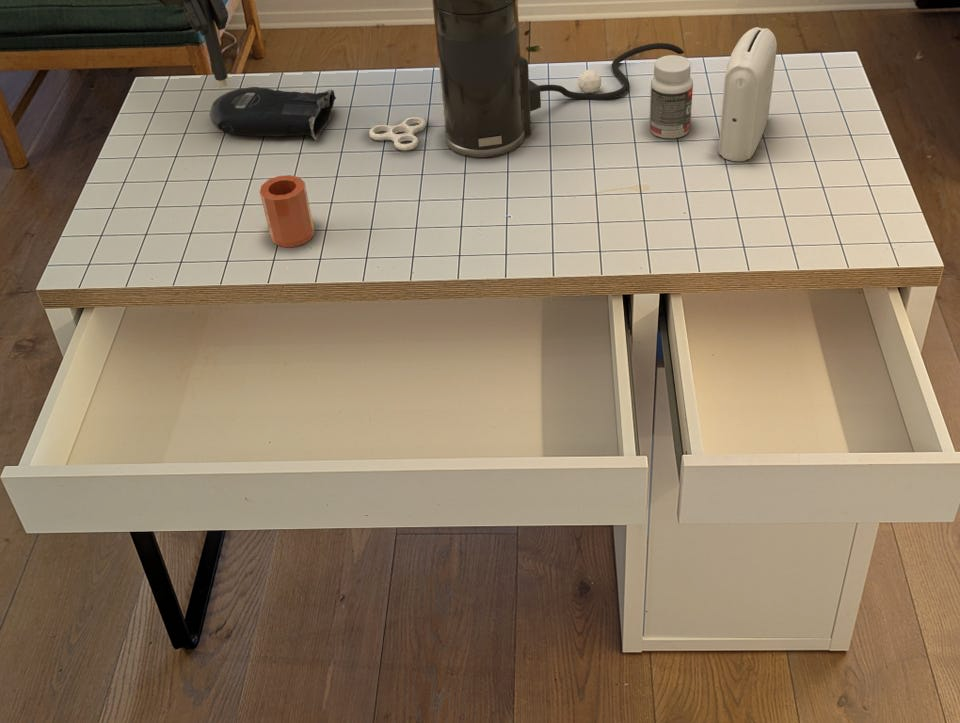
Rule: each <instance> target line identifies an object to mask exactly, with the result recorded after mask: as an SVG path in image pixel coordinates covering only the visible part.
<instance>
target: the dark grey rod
mask: <svg viewBox="0 0 960 723" xmlns="http://www.w3.org/2000/svg"><path fill="white" fill-rule="evenodd" d="M197 1H198V3H199V5H200V7H201V10H202V12H203V14H204V16H205V18H206V20H207V22H208V25H209V32H208V34H206V35H203V38H204V41H205V46H206V50H207V54H208V57H209V61H210V64H211V69H212V72H213V76H214V80H215V81H218V84H219V87H220V88H225V87H227V85H228V84H227V79H228V77H229V76H228V72H227V68H226V63H225V60H224V55H223V51H222V48H221V44H220V40H219V36H218V31H217V26H216V24H215V22H214V19H213V15H212V11H211V7H210V3H209V0H197Z"/></svg>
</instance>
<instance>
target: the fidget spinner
mask: <svg viewBox="0 0 960 723" xmlns="http://www.w3.org/2000/svg"><path fill="white" fill-rule="evenodd" d="M410 124H416V125H410ZM426 125H427V123H426V120H425V119H424V118H422V117H419V116H411V117H408V118H406V119H404V120H403V121H402V122H401V123H399V124H396V125H389V124H377V125H375V126H372V127H371V128H370V129H369V131H368V135H369V137H370V139H372V140H375V141H384V140H385V141H386V140H387V141H388V140H389V141H391V142H393V145H394V147H395V148H396V149H397V150H400V151H411V150H414V149H415V148H416V147H417V146H418V145H419V138H418V137H417V136H416V135H415V134H416V133H418V132H421V131H422V130H424V129H425V128H426ZM378 132H384V133H378ZM406 141H407V142H409V143H403V142H406Z"/></svg>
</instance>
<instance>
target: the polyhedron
mask: <svg viewBox="0 0 960 723" xmlns="http://www.w3.org/2000/svg"><path fill="white" fill-rule="evenodd" d="M577 85H578V89H579V90H580V91H581V93H590V94H596V92H598V91H599V90H600V89H601V86H602V78H601V75H600V73H599V72H597V70H594V69H586V70H585V71H583V72H581V73H580V75H579V76H578V81H577Z"/></svg>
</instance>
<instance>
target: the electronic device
mask: <svg viewBox="0 0 960 723" xmlns="http://www.w3.org/2000/svg"><path fill="white" fill-rule="evenodd" d="M336 99H337V97H336V95H335V90H334V89H331V88H329V89H328V90H326V91H323V92H317V93H316V92H307V91H305V92H300V91H283V90H281V89H280V90H279V89H272V88H267V87H258V86H249V87H241V88H237V89H234V90H231V91H227V92H226V93H224V94H222V95H220V96H219V97H218V98H216V99H215V100H214V101H213V102H212V103H211V107H210V110H209V118H210V121H211V123H212V125H214V127H215V128H217V129H218V130H219V131H221V132H223V133H227V134H232V135H240V136H253V137H257V136H263V137H264V136H265V137H280V136H281V137H289V136H296V137H297V136H310V137H312V138H313V140H314V141H316V142H317V141H318V139H319V137H320V135H321V133H322V131H323V130H324V129H325V127H326V125H327V124H328V123H329V121H330V120H331V117H332V110H333V107H334V103H335V100H336Z"/></svg>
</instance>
